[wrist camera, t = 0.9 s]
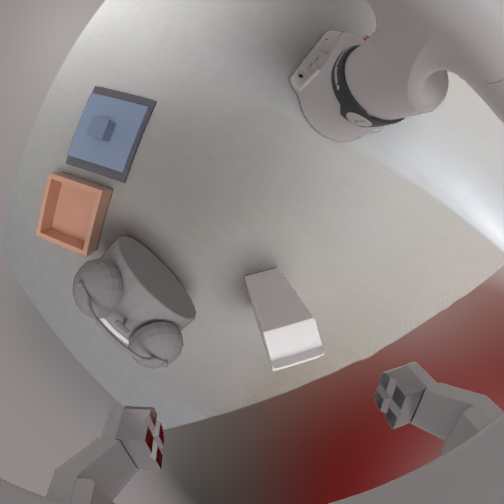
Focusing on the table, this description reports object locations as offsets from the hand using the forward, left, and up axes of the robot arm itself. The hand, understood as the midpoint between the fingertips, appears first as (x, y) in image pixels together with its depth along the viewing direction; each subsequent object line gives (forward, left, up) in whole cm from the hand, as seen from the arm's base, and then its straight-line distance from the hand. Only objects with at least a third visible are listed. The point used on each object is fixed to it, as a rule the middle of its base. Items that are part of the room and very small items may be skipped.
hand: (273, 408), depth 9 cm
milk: (+8, +10, -39) cm, 41 cm away
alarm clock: (+12, -9, -39) cm, 42 cm away
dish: (+6, -25, -39) cm, 46 cm away
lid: (-8, -24, -38) cm, 46 cm away
